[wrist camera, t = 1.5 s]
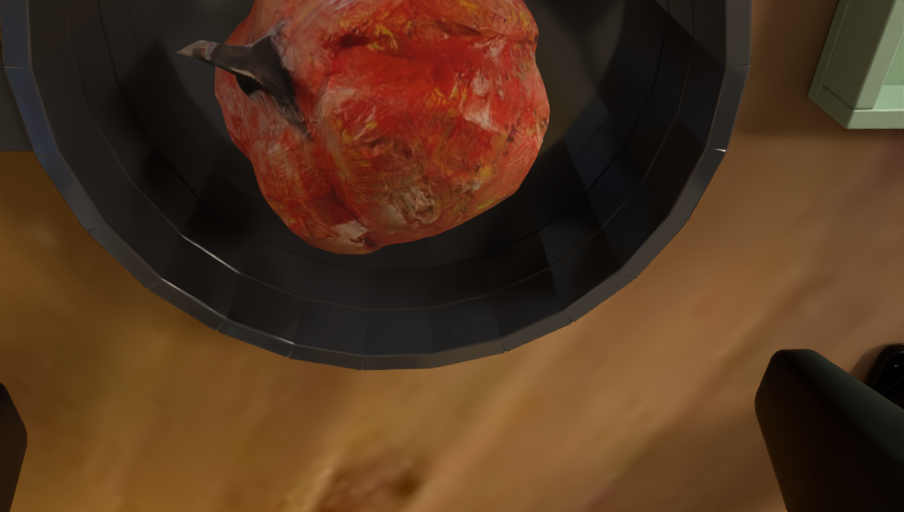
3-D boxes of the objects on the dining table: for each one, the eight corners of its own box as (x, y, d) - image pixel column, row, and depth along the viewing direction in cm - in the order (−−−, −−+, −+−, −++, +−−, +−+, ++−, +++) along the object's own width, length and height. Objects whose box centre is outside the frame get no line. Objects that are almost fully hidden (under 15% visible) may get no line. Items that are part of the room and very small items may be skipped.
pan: (630, 272, 25) (669, 362, 21) (157, 281, 24) (113, 378, 20) (755, -324, 15) (866, -347, 12) (-18, -351, 14) (-161, -385, 11)
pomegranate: (544, -33, 20) (297, -283, 12) (665, 178, 18) (464, 52, 10) (363, 115, 24) (67, 0, 15) (446, 311, 21) (150, 304, 13)
